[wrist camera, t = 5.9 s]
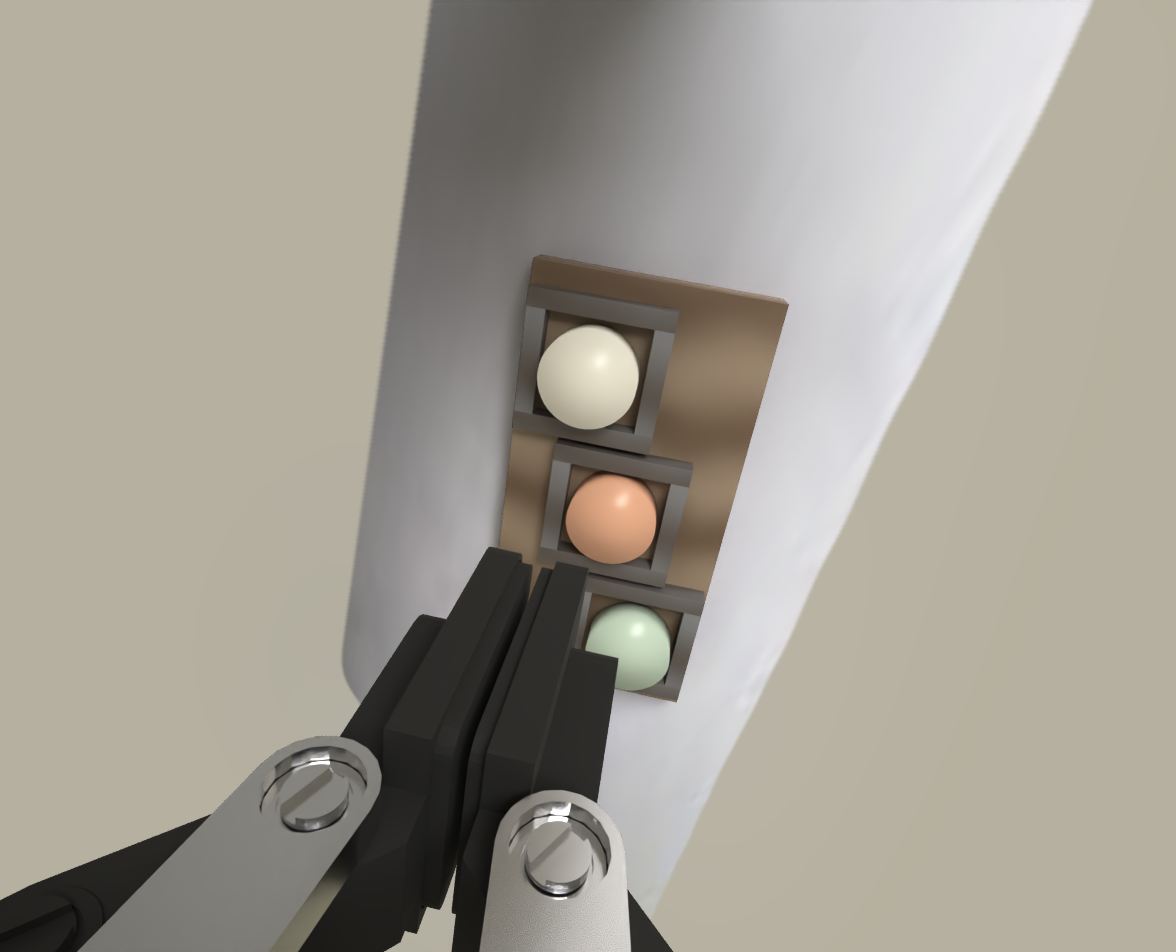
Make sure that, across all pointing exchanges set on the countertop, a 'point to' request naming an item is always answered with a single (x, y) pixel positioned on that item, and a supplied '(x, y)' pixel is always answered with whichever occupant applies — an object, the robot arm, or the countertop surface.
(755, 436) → the countertop surface
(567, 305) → the button panel
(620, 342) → the cream button
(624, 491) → the terracotta button
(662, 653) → the sage button
